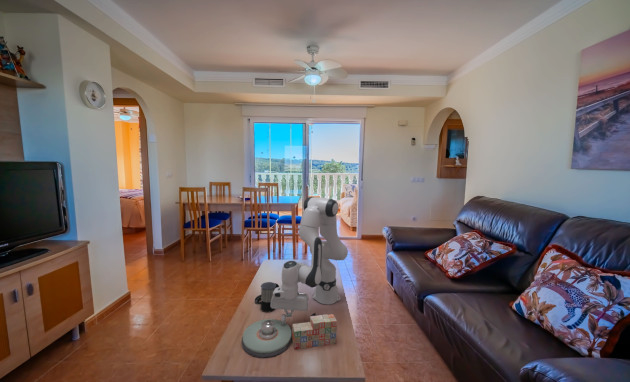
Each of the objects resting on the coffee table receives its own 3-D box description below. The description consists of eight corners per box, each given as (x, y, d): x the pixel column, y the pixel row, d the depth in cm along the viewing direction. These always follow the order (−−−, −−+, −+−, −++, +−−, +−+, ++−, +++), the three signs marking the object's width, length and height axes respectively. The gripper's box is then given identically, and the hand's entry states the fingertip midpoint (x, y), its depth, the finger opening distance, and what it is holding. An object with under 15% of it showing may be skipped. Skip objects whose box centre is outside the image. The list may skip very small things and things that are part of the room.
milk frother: (272, 313, 151) (272, 289, 150) (247, 309, 154) (247, 286, 153) (280, 301, 165) (280, 279, 164) (257, 298, 168) (258, 276, 167)
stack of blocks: (293, 349, 122) (294, 325, 121) (291, 341, 128) (292, 318, 127) (336, 343, 127) (337, 320, 126) (332, 335, 134) (333, 313, 132)
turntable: (271, 316, 145) (272, 305, 145) (301, 336, 129) (301, 324, 129) (233, 335, 128) (233, 323, 127) (261, 361, 112) (262, 347, 111)
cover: (269, 325, 134) (269, 315, 134) (280, 333, 129) (280, 322, 128) (255, 333, 128) (255, 322, 127) (266, 342, 122) (266, 330, 121)
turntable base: (251, 322, 142) (251, 319, 142) (295, 326, 140) (295, 323, 140) (233, 355, 117) (233, 352, 117) (286, 360, 115) (287, 357, 115)
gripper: (309, 290, 139) (308, 314, 140) (272, 287, 140) (272, 311, 142) (308, 296, 132) (307, 321, 134) (269, 293, 134) (269, 318, 136)
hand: (289, 316), depth 138 cm, fingers closed
